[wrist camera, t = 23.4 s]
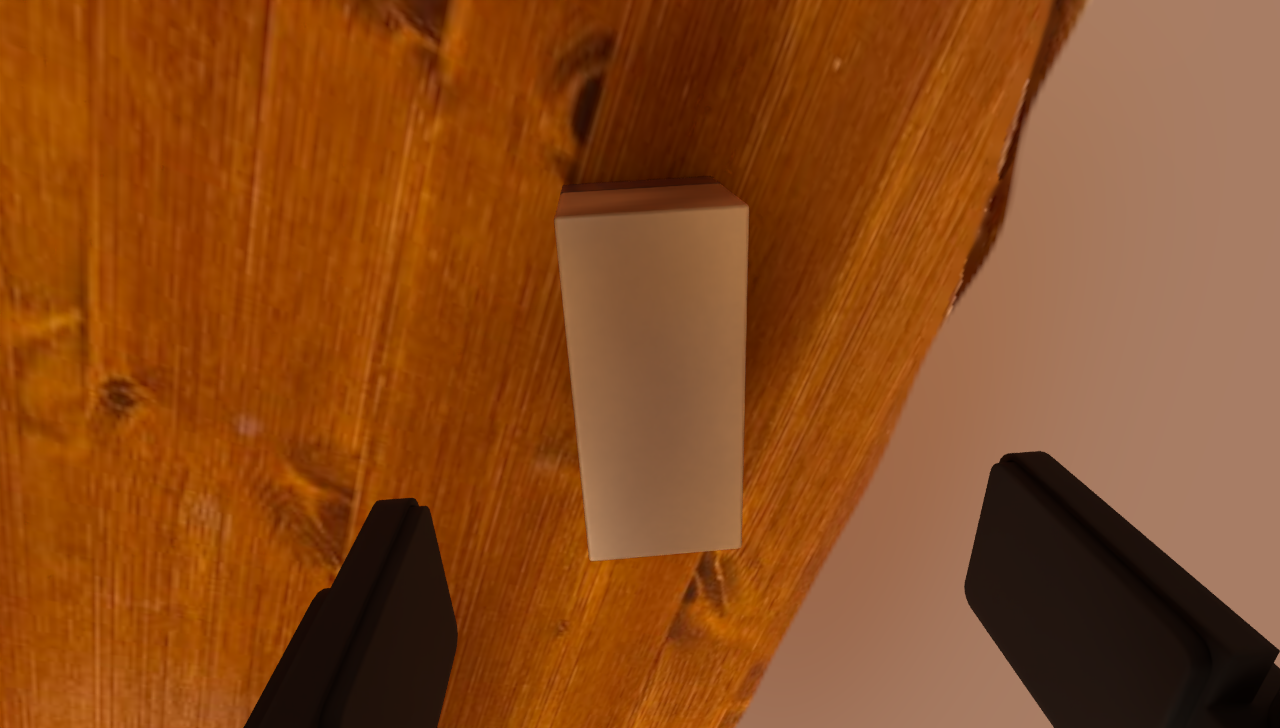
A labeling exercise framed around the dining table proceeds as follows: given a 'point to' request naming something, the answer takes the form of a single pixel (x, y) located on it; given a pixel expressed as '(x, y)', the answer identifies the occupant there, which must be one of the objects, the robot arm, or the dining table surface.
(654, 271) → the eraser
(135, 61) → the dining table surface
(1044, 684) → the robot arm
